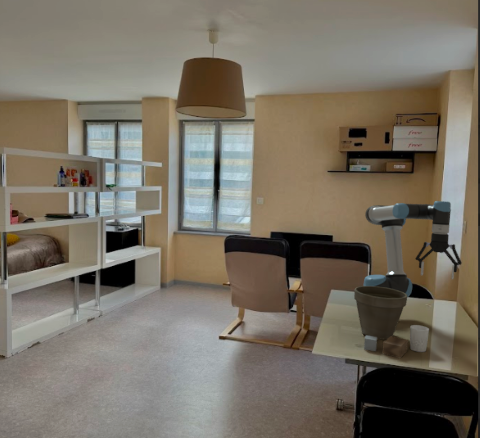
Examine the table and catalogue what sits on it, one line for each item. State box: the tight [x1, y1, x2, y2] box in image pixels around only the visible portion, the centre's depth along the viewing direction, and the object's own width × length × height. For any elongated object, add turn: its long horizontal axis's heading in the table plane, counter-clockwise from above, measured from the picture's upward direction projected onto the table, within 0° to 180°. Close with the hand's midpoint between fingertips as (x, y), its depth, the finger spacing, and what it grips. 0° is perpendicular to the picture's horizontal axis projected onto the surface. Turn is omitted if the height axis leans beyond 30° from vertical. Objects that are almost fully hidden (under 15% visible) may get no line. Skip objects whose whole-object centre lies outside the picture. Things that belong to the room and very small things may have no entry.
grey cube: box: [363, 335, 378, 352], centre depth 195 cm, size 5×5×5 cm
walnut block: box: [382, 335, 409, 359], centre depth 192 cm, size 8×11×5 cm
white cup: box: [409, 324, 430, 353], centre depth 197 cm, size 8×8×10 cm
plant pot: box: [353, 285, 408, 340], centre depth 215 cm, size 25×25×22 cm
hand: (436, 276), depth 211 cm, fingers open, 13 cm apart
